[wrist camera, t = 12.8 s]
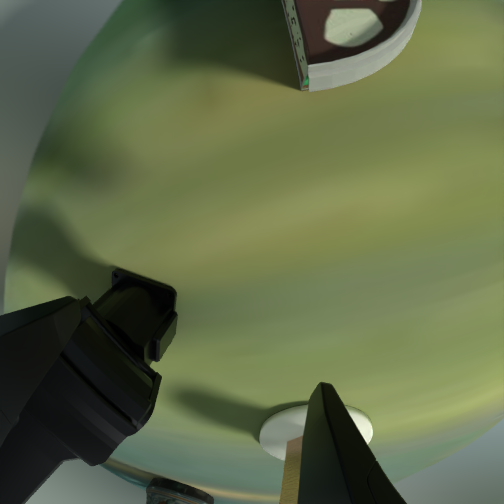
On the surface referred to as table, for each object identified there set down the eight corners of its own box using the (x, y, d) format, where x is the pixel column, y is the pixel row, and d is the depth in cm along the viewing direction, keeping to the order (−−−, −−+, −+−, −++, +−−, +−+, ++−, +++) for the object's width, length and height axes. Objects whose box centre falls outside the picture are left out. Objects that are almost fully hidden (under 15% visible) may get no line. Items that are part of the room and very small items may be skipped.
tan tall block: (287, 441, 29) (274, 533, 17) (320, 428, 27) (315, 529, 15) (312, 454, 29) (305, 538, 18) (343, 441, 28) (344, 533, 16)
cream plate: (249, 447, 32) (247, 453, 31) (279, 392, 27) (278, 401, 26) (340, 460, 32) (340, 467, 31) (392, 410, 26) (394, 418, 25)
